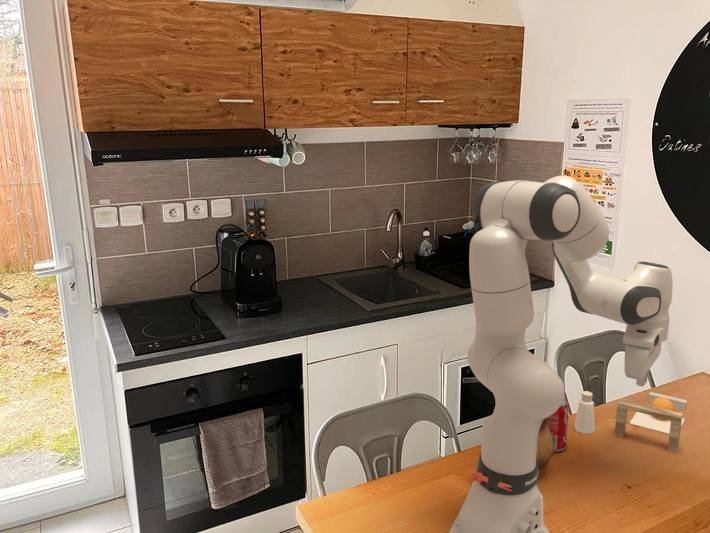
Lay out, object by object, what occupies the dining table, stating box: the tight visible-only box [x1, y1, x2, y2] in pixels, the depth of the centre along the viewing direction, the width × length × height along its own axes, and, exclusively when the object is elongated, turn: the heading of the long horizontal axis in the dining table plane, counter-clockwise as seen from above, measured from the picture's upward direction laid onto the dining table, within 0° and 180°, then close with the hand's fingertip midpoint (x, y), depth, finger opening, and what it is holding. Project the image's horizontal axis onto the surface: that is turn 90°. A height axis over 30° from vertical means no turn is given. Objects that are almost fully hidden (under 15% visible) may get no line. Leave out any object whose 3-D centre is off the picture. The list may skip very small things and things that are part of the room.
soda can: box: [548, 398, 570, 453], centre depth 152 cm, size 7×7×13 cm
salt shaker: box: [573, 390, 596, 435], centre depth 161 cm, size 5×5×11 cm
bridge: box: [614, 398, 683, 454], centre depth 154 cm, size 3×15×10 cm, turn 52°
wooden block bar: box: [647, 391, 688, 411], centre depth 176 cm, size 2×10×2 cm, turn 52°
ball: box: [650, 398, 675, 419], centre depth 167 cm, size 6×6×6 cm
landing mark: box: [629, 411, 686, 435], centre depth 166 cm, size 12×12×1 cm
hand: (641, 384), depth 141 cm, fingers closed
